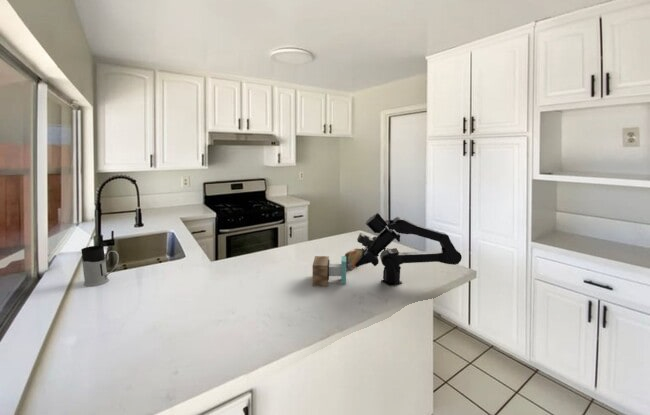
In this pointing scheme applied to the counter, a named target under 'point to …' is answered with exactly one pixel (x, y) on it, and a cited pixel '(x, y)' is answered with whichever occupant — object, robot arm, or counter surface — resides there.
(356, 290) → the counter surface
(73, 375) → the counter surface
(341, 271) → the teal flanged block
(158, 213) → the counter surface
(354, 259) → the tin
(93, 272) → the grey black mug
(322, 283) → the block
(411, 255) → the robot arm
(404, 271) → the counter surface
